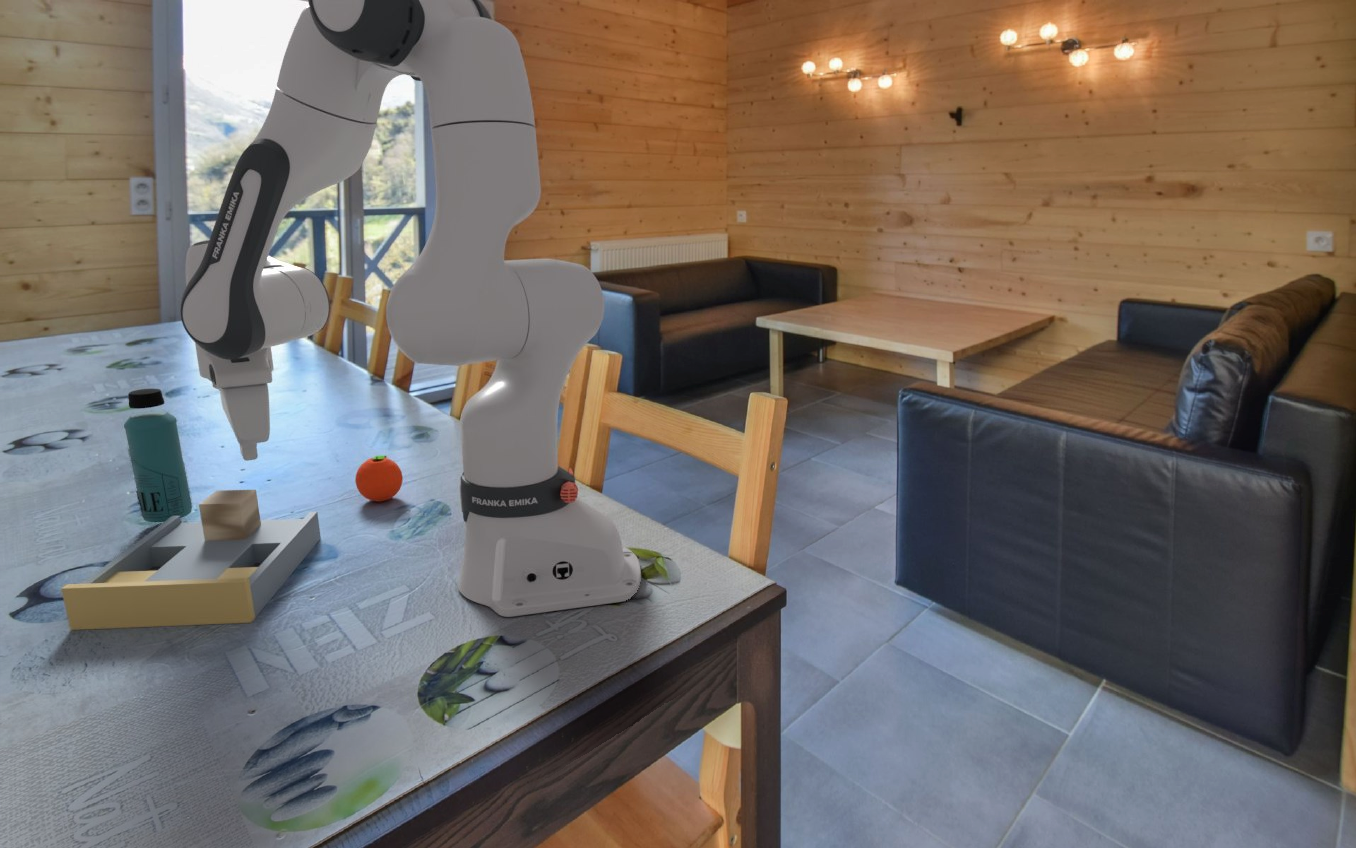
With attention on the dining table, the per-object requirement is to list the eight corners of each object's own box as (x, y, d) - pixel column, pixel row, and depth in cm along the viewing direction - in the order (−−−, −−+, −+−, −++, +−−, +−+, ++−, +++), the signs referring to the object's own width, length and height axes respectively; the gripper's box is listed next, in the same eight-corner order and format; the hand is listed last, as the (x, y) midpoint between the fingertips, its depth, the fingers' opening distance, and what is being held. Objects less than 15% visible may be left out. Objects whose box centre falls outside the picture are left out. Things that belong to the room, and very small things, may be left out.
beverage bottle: (201, 513, 120) (178, 383, 114) (187, 530, 114) (163, 393, 108) (151, 517, 118) (127, 385, 113) (135, 535, 112) (108, 396, 107)
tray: (177, 543, 110) (171, 509, 108) (320, 538, 111) (316, 504, 110) (70, 630, 88) (61, 588, 86) (251, 622, 89) (244, 581, 88)
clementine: (367, 490, 130) (363, 448, 128) (411, 489, 130) (407, 447, 128) (351, 508, 122) (346, 464, 120) (397, 507, 123) (393, 463, 121)
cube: (261, 524, 109) (255, 489, 107) (245, 539, 104) (239, 503, 102) (222, 525, 108) (216, 490, 107) (204, 540, 103) (198, 504, 102)
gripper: (202, 348, 114) (216, 440, 118) (216, 378, 98) (232, 483, 102) (251, 344, 118) (263, 434, 122) (273, 372, 102) (286, 474, 106)
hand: (249, 457), depth 112 cm, fingers closed
